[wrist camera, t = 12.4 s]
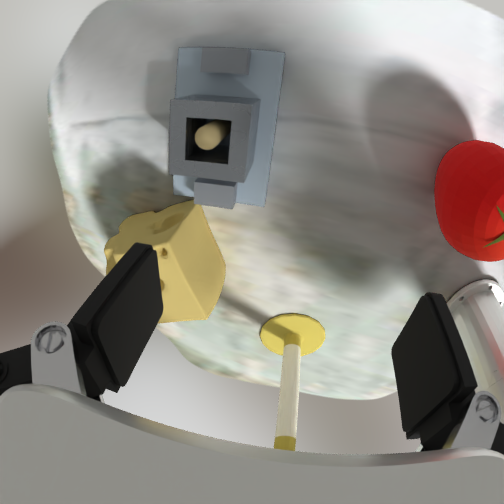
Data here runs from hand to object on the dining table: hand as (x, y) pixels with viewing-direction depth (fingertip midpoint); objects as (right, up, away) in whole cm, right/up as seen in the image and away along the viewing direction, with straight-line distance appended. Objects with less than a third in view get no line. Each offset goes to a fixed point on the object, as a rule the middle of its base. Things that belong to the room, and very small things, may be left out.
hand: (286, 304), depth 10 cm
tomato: (+22, +11, +17) cm, 30 cm away
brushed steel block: (-4, +14, +17) cm, 22 cm away
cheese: (-10, +3, +27) cm, 29 cm away
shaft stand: (-4, +15, +18) cm, 23 cm away
